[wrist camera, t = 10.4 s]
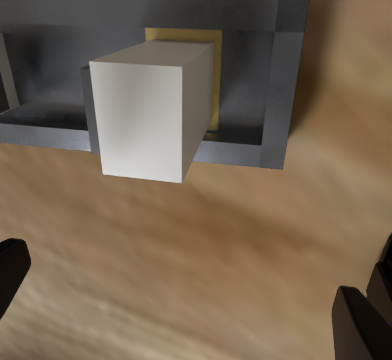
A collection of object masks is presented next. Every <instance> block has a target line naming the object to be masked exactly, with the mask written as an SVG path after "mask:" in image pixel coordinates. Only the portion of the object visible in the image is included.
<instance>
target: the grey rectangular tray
mask: <svg viewBox="0 0 392 360" xmlns="http://www.w3.org/2000/svg"><path fill="white" fill-rule="evenodd" d="M308 4H309V0H0V33H2V35H3V39H4V43H5V47H6V51H7V56H8V60H9V64H10V68H11V72H12V76H13V80H14V85H15V89H16V93H17V97H18V101H19V105H20V106H19V107H17V108H14V109H12V110H10V111H7V112H5V113H3V114H0V143H9V144H19V145H30V146H40V147H51V148H61V149H72V150H82V151H91V147H90V140H89V133H88V126H87V118H86V111H85V104H84V97H83V89H82V82H81V75H80V68H82V67H85V66H88V65H89V61H92V60H95V59H97V58H100V57H103V56H106V55H109V54H112V53H115V52H118V51H121V50H123V49H126V48H129V47H132V46H135V45H138V44H141V43H144V42H146V41H149V40H152V39H172V40H193V41H214V42H215V44H214V65H213V87H212V108H211V122H210V124H209V126H208V129H207V131H206V133H205V135H204V137H203V139H202V141H201V143H200V146H199V148H198V150H197V152H196V154H195V156H194V158H193V160H192V161H198V162H208V163H219V164H229V165H240V166H250V167H261V168H271V169H282V170H283V165H284V159H285V153H286V146H287V140H288V133H289V127H290V120H291V114H292V107H293V101H294V95H295V88H296V82H297V75H298V69H299V62H300V56H301V50H302V43H303V37H304V30H305V24H306V17H307V11H308Z"/></svg>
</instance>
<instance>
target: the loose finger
mask: <svg viewBox="0 0 392 360" xmlns="http://www.w3.org/2000/svg"><path fill="white" fill-rule="evenodd" d="M214 44H215V42H214V41H193V40H172V39H152V40H149V41H146V42H144V43H141V44H138V45H135V46H132V47H129V48H126V49H123V50H121V51H118V52H115V53H112V54H109V55H106V56H103V57H100V58H97V59H95V60H92V61H89V65H88V66H85V67H82V68H80V75H81V82H82V89H83V97H84V104H85V111H86V118H87V126H88V133H89V140H90V147H91V154H100V155H101V162H102V170H103V174H106V175H115V176H124V177H132V178H141V179H150V180H159V181H167V182H176V183H182V181H183V179H184V177H185V175H186V173H187V171H188V169H189V167H190V165H191V162H192V160H193V158H194V156H195V154H196V152H197V150H198V148H199V146H200V143H201V141H202V139H203V137H204V135H205V133H206V131H207V129H208V126H209V124H210V122H211V108H212V87H213V65H214Z"/></svg>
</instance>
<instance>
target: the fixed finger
mask: <svg viewBox="0 0 392 360" xmlns="http://www.w3.org/2000/svg"><path fill="white" fill-rule="evenodd" d="M19 106H20V105H19V101H18V97H17V93H16V89H15V85H14V80H13V76H12V72H11V68H10V64H9V60H8V56H7V51H6V47H5V43H4V39H3V35H2V33H0V114H3V113H5V112H7V111H10V110H12V109H14V108H17V107H19Z"/></svg>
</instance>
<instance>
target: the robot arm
mask: <svg viewBox="0 0 392 360" xmlns="http://www.w3.org/2000/svg"><path fill="white" fill-rule="evenodd" d="M30 266H31V258H30V255H29V251H28V248H27V244H26V242H25V241H24V240H22V239H16V238H9V239H7V240H4V241H2V242H0V320H1V318H2V317H3V315H4V314H5V312H6V310H7V308H8V307H9V305H10V303H11V301H12V300H13V298H14V296H15V294H16V292H17V290H18V289H19V287H20V285H21V283H22V281H23V280H24V278H25V276H26V274H27V272H28V271H29V269H30ZM366 292H367V298H366V297H365V296H364V295H363V294H362V293H361V292H360V291H359V290H358V289H357V288H355V287H349V286H339V288H338V290H337V293H336V297H335V300H334V303H333V307H332V326H333V338H334V349H335V360H392V235H391V236H390V237H389V238H388V240H387V243H386V245H385V248H384V251H383V254H382V256H381V259H380V261H379V262H377V263H376V264H375V267H374V270H373V272H372V275H371V278H370V281H369V284H368V286H367V289H366Z"/></svg>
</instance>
